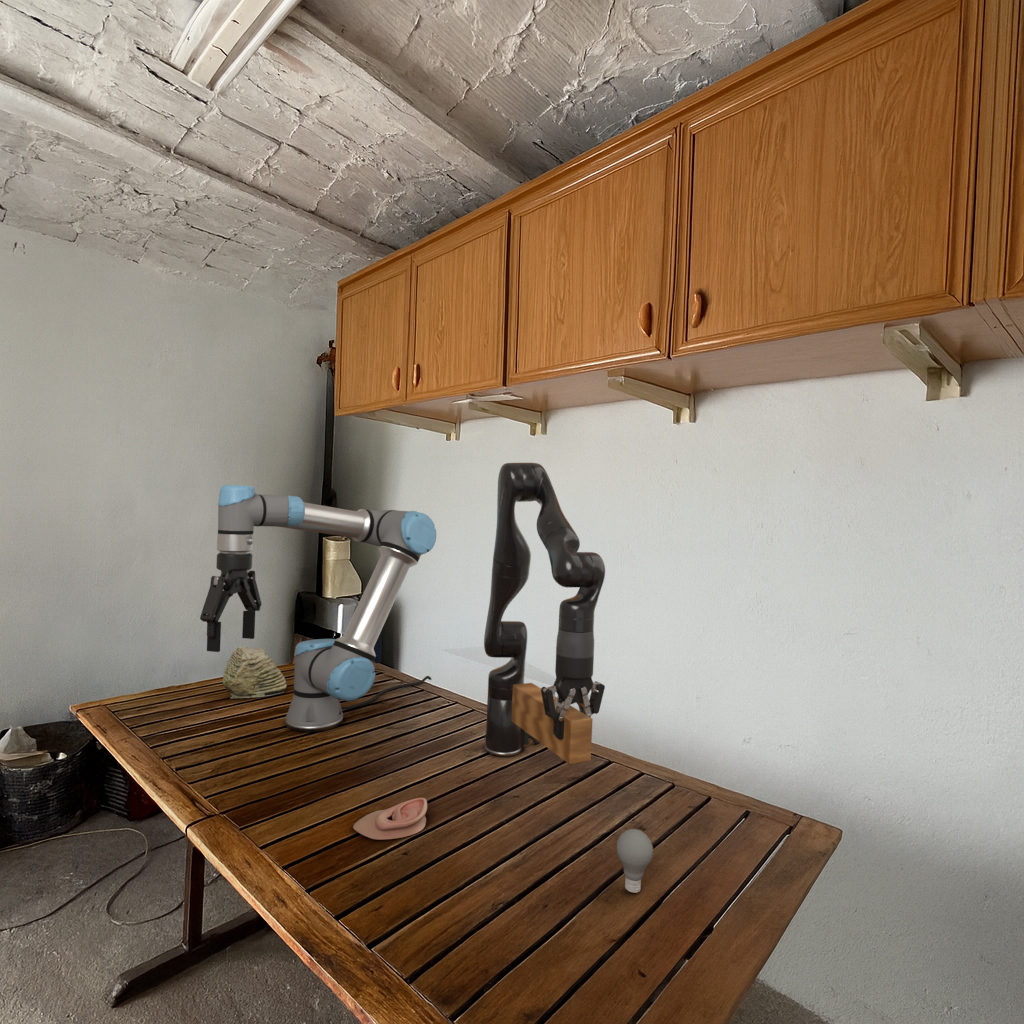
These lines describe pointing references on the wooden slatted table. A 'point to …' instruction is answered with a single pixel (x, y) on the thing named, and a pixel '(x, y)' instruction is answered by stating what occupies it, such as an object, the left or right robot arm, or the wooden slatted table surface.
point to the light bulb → (634, 857)
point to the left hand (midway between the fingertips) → (231, 644)
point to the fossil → (252, 674)
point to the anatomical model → (394, 821)
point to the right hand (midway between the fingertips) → (571, 736)
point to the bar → (552, 724)
